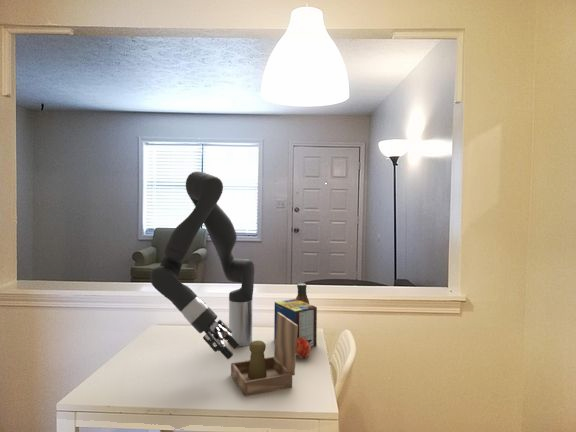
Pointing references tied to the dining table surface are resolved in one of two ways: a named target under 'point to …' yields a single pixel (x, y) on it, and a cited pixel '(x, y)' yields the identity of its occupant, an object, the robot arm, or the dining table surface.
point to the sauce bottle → (302, 293)
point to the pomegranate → (303, 347)
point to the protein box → (299, 318)
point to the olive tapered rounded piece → (257, 360)
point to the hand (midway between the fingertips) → (234, 351)
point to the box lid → (286, 342)
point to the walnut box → (274, 380)
